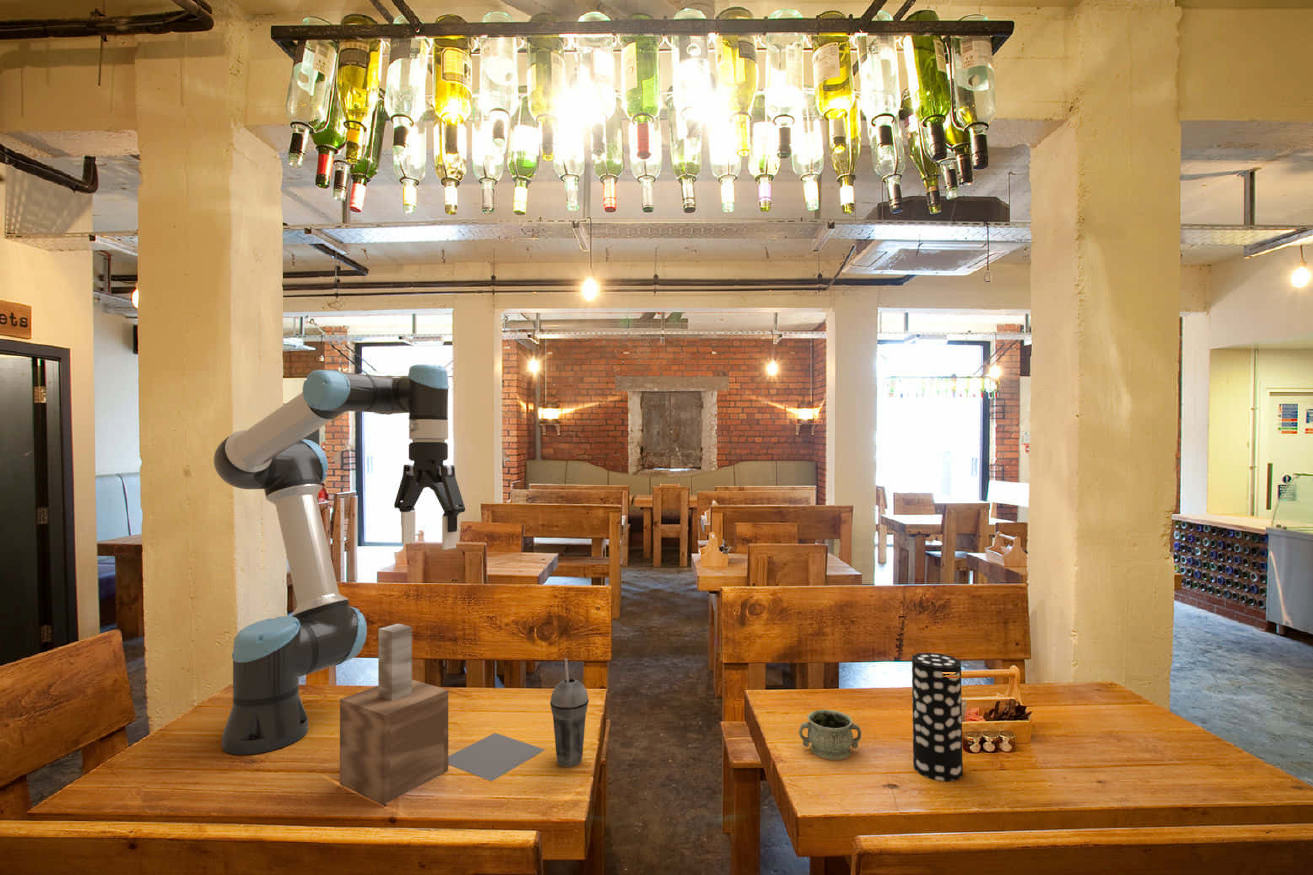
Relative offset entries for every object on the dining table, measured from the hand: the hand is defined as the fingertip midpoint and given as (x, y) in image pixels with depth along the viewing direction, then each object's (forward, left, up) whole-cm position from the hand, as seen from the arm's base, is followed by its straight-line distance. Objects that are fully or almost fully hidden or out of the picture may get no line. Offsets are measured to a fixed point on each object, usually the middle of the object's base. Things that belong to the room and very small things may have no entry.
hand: (428, 545), depth 130 cm
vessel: (+70, +40, -40) cm, 90 cm away
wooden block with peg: (+7, -12, -40) cm, 42 cm away
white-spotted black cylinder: (+89, +43, -40) cm, 106 cm away
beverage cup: (+30, +9, -40) cm, 51 cm away
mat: (+16, +3, -40) cm, 43 cm away
